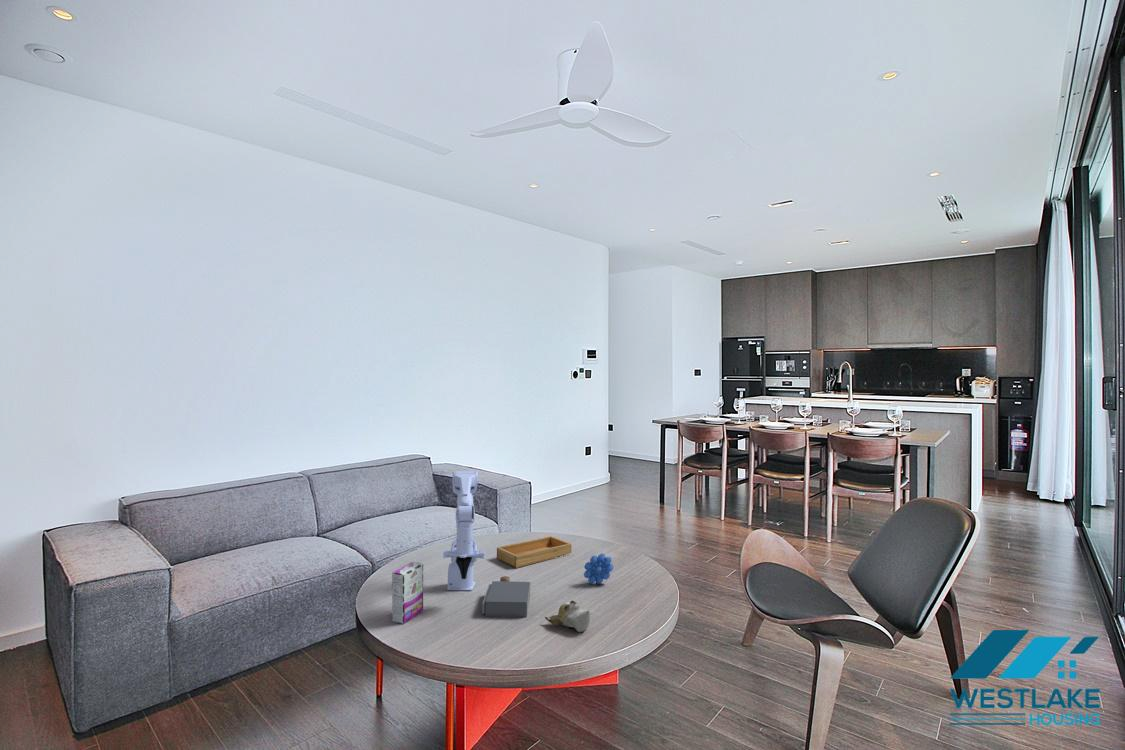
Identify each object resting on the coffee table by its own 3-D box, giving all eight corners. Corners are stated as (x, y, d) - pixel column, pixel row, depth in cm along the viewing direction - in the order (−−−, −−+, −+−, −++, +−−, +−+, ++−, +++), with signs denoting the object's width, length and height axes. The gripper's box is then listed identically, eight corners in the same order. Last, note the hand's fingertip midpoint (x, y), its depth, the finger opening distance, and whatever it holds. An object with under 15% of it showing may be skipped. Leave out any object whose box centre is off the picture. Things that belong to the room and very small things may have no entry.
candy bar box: (411, 608, 189) (412, 561, 189) (423, 610, 188) (424, 563, 187) (390, 622, 179) (391, 572, 179) (403, 624, 177) (404, 574, 177)
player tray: (482, 613, 184) (482, 603, 184) (489, 593, 202) (489, 584, 202) (521, 614, 184) (521, 604, 184) (525, 594, 202) (525, 584, 202)
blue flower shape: (611, 579, 219) (611, 549, 219) (614, 586, 212) (614, 555, 212) (582, 580, 218) (582, 550, 218) (584, 586, 211) (584, 555, 211)
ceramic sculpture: (578, 610, 169) (542, 600, 179) (579, 639, 169) (543, 627, 179) (599, 600, 178) (563, 591, 187) (599, 627, 177) (564, 616, 187)
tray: (550, 546, 260) (550, 535, 260) (571, 555, 249) (571, 542, 249) (496, 560, 241) (496, 547, 241) (516, 569, 229) (516, 556, 229)
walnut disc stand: (496, 591, 205) (496, 580, 205) (497, 585, 211) (498, 574, 211) (511, 591, 205) (512, 581, 205) (513, 585, 211) (513, 575, 211)
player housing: (485, 616, 184) (485, 601, 184) (492, 594, 202) (492, 581, 202) (526, 617, 184) (527, 602, 184) (530, 595, 202) (530, 581, 202)
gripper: (441, 542, 189) (441, 581, 189) (483, 543, 189) (482, 582, 189) (446, 536, 196) (445, 574, 196) (486, 537, 196) (485, 575, 196)
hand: (464, 578), depth 193 cm, fingers closed
